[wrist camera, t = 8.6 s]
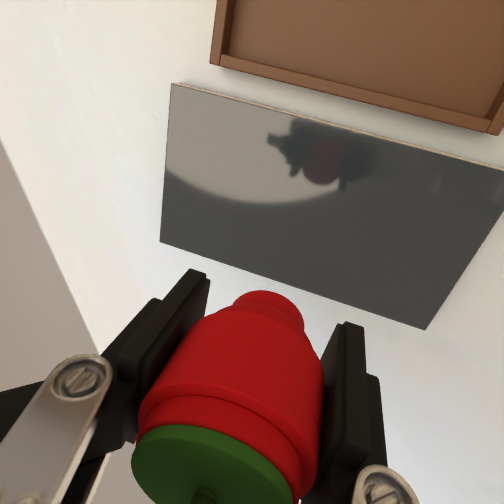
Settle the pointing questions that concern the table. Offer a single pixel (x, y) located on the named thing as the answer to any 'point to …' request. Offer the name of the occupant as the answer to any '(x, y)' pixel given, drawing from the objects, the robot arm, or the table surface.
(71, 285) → the table surface
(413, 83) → the tray
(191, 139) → the board
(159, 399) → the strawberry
